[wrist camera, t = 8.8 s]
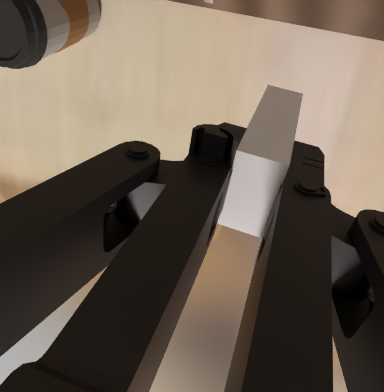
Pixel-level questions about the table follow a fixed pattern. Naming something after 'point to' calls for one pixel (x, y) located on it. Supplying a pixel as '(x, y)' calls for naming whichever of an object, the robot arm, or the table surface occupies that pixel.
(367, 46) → the table surface
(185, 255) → the robot arm
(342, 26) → the base board
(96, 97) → the table surface
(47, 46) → the coffee cup
